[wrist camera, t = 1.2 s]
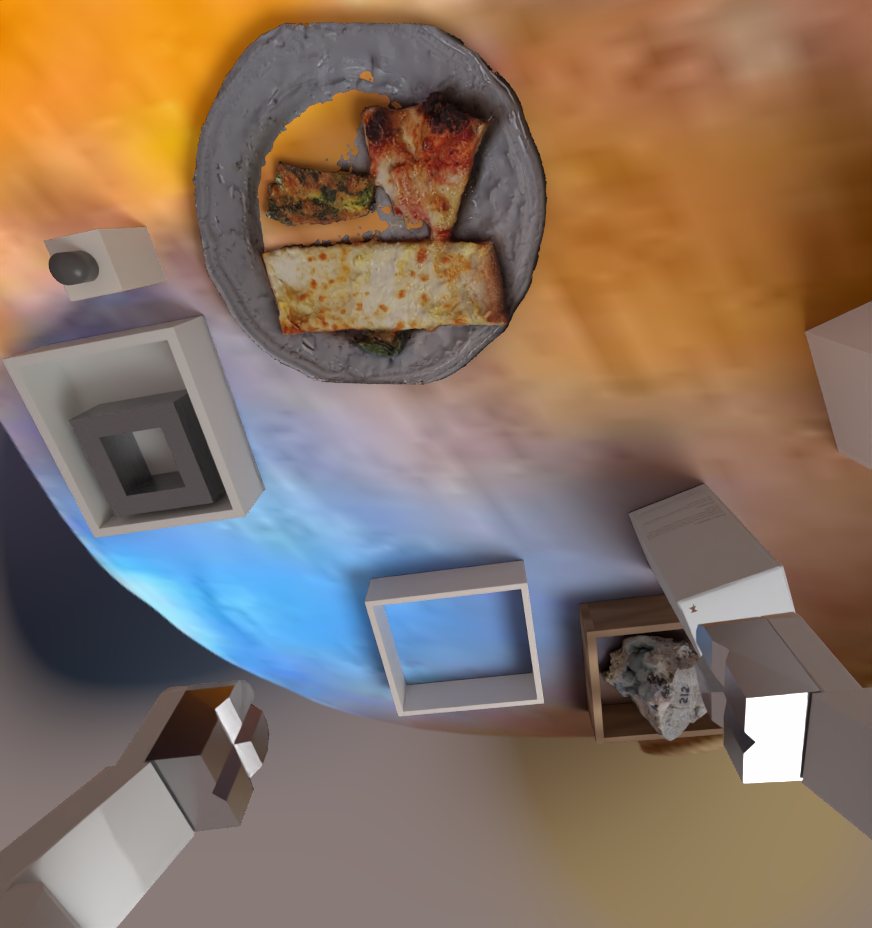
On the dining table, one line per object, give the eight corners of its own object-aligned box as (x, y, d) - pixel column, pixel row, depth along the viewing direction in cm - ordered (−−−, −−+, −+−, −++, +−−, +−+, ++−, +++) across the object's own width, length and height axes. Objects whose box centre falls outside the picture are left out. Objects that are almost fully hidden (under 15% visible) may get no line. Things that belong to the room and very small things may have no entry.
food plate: (561, 32, 35) (568, 15, 32) (526, 382, 45) (530, 395, 42) (185, 30, 36) (156, 13, 33) (233, 369, 46) (215, 381, 43)
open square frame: (370, 579, 54) (364, 601, 51) (523, 560, 52) (527, 582, 49) (402, 689, 60) (398, 716, 57) (539, 676, 58) (543, 703, 55)
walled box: (48, 344, 45) (1, 359, 41) (203, 315, 44) (173, 327, 39) (127, 509, 52) (94, 537, 47) (265, 489, 50) (245, 516, 46)
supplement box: (650, 572, 52) (703, 673, 40) (626, 511, 49) (674, 601, 38) (729, 545, 50) (806, 643, 39) (707, 480, 48) (784, 565, 36)
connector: (98, 237, 41) (21, 242, 34) (146, 226, 41) (78, 229, 34) (120, 290, 43) (51, 306, 36) (166, 281, 43) (105, 295, 35)
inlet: (99, 404, 47) (68, 420, 43) (196, 387, 46) (172, 402, 42) (141, 495, 50) (116, 516, 47) (231, 481, 49) (213, 502, 46)
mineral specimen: (620, 608, 60) (667, 682, 61) (575, 656, 56) (625, 734, 57) (692, 611, 51) (746, 697, 52) (644, 668, 48) (703, 760, 48)
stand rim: (578, 603, 54) (586, 632, 50) (738, 586, 52) (758, 614, 48) (588, 711, 60) (596, 743, 56) (731, 699, 58) (749, 731, 55)
